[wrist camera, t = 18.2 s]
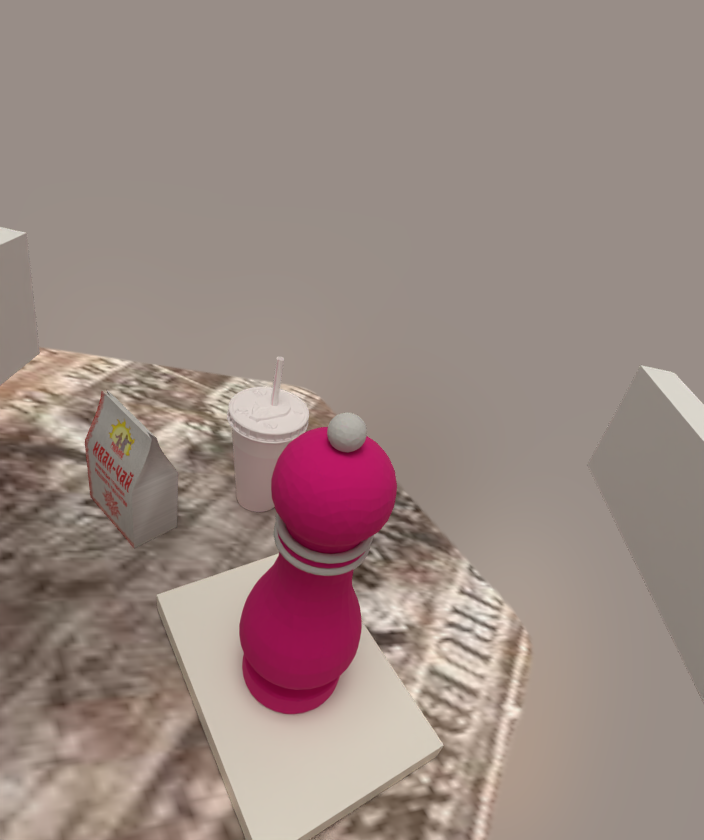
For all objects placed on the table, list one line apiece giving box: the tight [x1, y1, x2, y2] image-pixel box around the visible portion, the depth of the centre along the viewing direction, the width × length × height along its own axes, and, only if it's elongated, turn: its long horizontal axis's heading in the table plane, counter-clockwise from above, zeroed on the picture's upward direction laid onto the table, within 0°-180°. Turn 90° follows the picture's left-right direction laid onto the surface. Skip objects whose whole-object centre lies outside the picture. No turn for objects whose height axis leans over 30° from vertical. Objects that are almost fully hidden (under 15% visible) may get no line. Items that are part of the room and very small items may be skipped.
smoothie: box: [227, 357, 309, 512], centre depth 46 cm, size 6×6×14 cm
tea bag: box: [85, 390, 178, 548], centre depth 43 cm, size 4×7×10 cm, turn 46°
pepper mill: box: [239, 413, 397, 714], centre depth 30 cm, size 7×7×20 cm
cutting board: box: [157, 554, 443, 840], centre depth 37 cm, size 17×12×2 cm
